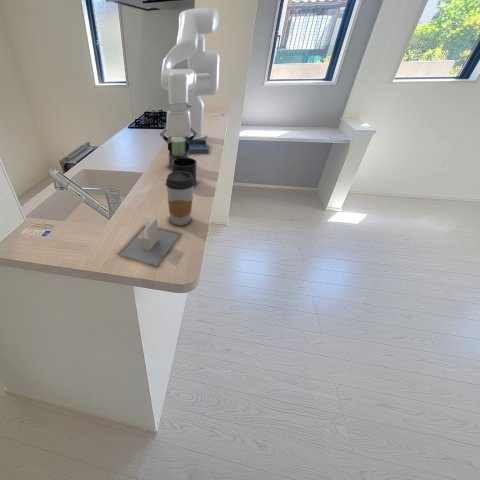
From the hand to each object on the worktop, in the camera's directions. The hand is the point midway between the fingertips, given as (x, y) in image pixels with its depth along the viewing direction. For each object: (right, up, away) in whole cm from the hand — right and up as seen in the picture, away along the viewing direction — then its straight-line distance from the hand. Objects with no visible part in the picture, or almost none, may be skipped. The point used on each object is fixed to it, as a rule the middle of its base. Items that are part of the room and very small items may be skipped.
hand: (178, 151), depth 118 cm
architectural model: (-11, -41, -42) cm, 60 cm away
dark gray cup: (0, -6, +4) cm, 7 cm away
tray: (+9, +9, +24) cm, 27 cm away
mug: (+2, -16, -10) cm, 19 cm away
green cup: (0, -5, +4) cm, 7 cm away
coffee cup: (-2, -33, -33) cm, 47 cm away
